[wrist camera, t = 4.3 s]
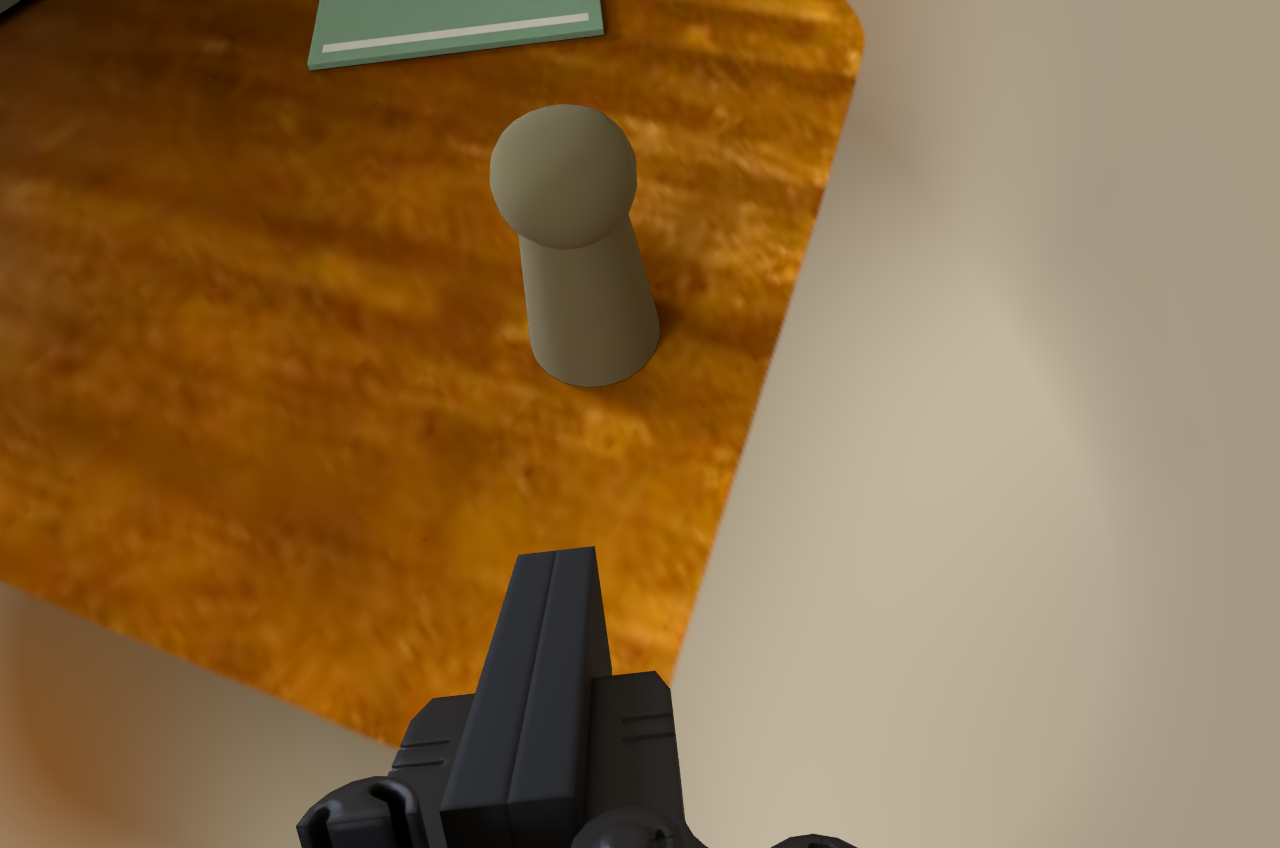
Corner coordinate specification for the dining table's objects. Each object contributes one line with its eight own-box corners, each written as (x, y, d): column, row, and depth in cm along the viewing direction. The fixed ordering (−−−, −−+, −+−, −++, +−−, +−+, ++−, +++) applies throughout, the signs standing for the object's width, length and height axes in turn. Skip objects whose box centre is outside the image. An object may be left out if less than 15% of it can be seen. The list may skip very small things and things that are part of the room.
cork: (566, 409, 33) (512, 229, 23) (508, 316, 36) (439, 120, 26) (685, 348, 34) (680, 152, 25) (620, 262, 37) (592, 55, 27)
